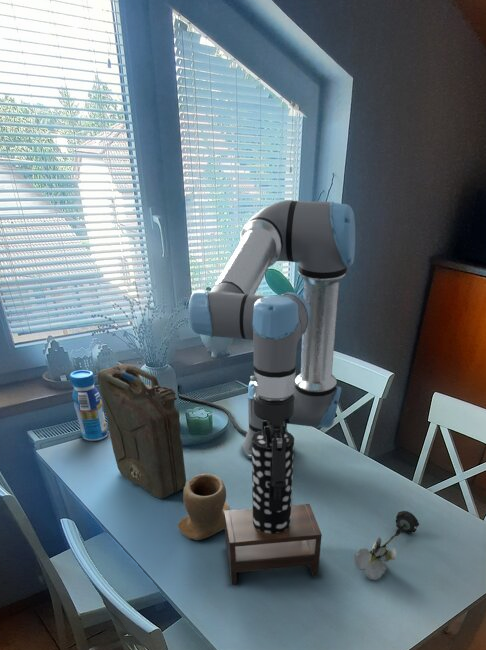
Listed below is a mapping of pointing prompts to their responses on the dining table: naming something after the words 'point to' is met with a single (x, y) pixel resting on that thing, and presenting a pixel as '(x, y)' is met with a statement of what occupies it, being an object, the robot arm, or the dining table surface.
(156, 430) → the container
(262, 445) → the spotted tube
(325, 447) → the dining table surface
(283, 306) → the robot arm
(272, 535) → the rack
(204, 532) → the stone cup
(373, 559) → the artificial flower
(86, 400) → the beverage bottle
